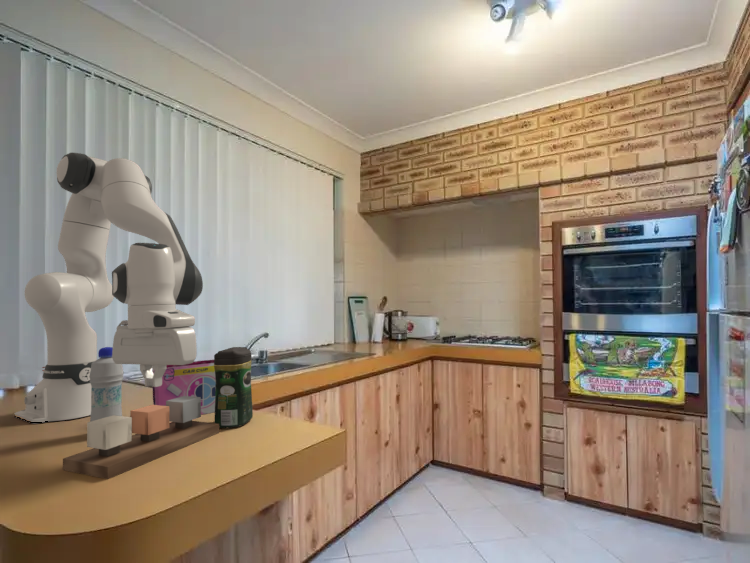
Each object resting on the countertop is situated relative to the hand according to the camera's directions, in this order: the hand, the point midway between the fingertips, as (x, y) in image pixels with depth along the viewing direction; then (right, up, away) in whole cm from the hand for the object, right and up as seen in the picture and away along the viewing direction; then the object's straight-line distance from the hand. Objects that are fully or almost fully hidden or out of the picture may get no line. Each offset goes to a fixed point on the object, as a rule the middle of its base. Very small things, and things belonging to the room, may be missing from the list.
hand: (153, 386), depth 85 cm
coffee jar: (+11, -14, +16) cm, 24 cm away
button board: (0, -13, -1) cm, 13 cm away
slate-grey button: (+3, -9, +7) cm, 12 cm away
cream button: (-4, -9, -8) cm, 13 cm away
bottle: (-16, -14, +10) cm, 24 cm away
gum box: (-2, -15, +29) cm, 32 cm away
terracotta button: (0, -9, -1) cm, 9 cm away
